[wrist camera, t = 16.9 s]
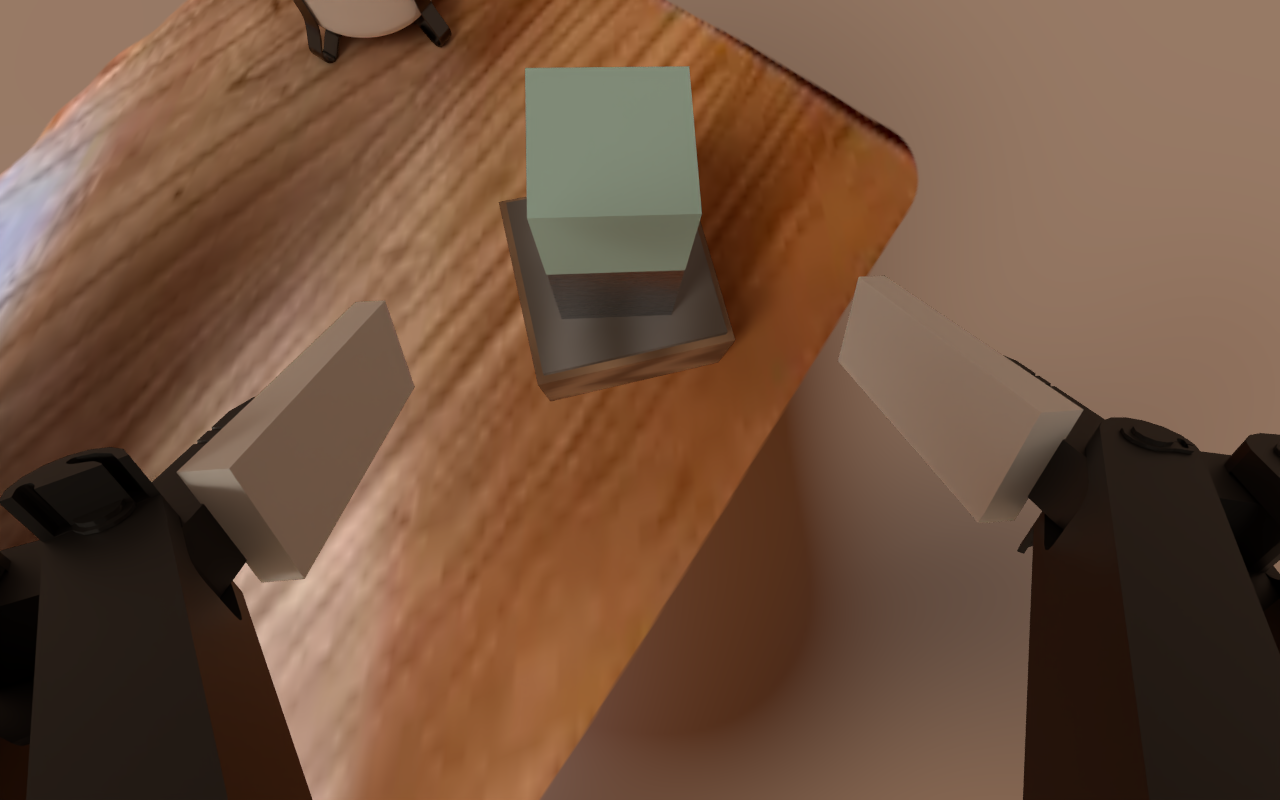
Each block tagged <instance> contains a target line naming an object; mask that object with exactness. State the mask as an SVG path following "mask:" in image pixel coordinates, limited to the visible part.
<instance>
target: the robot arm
mask: <svg viewBox="0 0 1280 800" xmlns="http://www.w3.org/2000/svg"><path fill="white" fill-rule="evenodd" d="M838 362H839V363H840V364H841V365H842V366H843V368H844V369H845V370H846V371H847V372H848V374H849V375H850V376H851V377H852V378H853V379H854V380H855V381H856V383H857V384H858V385H859V386H860V387H861V388H862V390H863V391H864V392H865V393H866V394H867V395H868V397H869V398H870V399H871V400H872V401H873V402H874V403H875V405H876V406H877V407H878V408H879V409H880V410H881V412H882V413H883V414H884V415H885V416H886V417H887V418H888V420H889V421H890V422H891V423H892V424H893V425H894V426H895V428H896V429H897V430H898V431H899V432H900V433H901V435H902V436H903V437H904V438H905V439H906V440H907V441H908V443H909V444H910V445H911V446H912V447H913V448H914V449H915V451H916V452H917V453H918V454H919V455H920V456H921V458H922V459H923V460H924V461H925V462H926V463H927V464H928V466H929V467H930V468H931V469H932V470H933V471H934V473H935V474H936V475H937V476H938V477H939V478H940V479H941V481H942V482H943V483H944V484H945V485H946V486H947V488H948V489H949V490H950V491H951V492H952V493H953V494H954V495H955V497H956V498H957V499H958V500H959V501H960V502H961V504H962V505H963V506H964V507H965V508H966V509H967V511H968V512H969V513H970V514H971V515H972V516H973V517H974V519H975V520H976V521H977V522H978V523H988V522H999V521H1012V520H1015V519H1016V517H1017V516H1018V514H1019V512H1020V511H1021V509H1022V508H1023V506H1024V504H1025V503H1026V501H1027V500H1028V498H1029V499H1030V500H1031V501H1033V502H1034V503H1035V504H1036V505H1037V506H1038V507H1039V508H1040V509H1041V510H1042V513H1041V514H1040V516H1039V517H1038V519H1037V520H1036V522H1035V523H1034V525H1033V526H1032V528H1031V529H1030V531H1029V532H1028V534H1027V535H1026V537H1025V538H1024V540H1023V541H1022V543H1021V544H1020V546H1019V548H1018V550H1017V551H1018V552H1021V553H1025V551H1026V550H1027V548H1028V547H1031V546H1033V562H1032V586H1031V612H1030V638H1029V662H1028V687H1027V689H1028V690H1027V712H1026V713H1027V714H1026V739H1025V763H1024V788H1023V800H1280V574H1279V572H1278V571H1277V570H1276V569H1275V567H1274V566H1273V565H1274V564H1275V563H1277V562H1278V561H1279V560H1280V435H1276V434H1264V433H1260V434H1254V435H1250V436H1248V437H1247V438H1246V440H1245V441H1244V442H1243V443H1242V444H1241V445H1240V446H1239V447H1238V448H1237V450H1236V451H1235V452H1234V453H1233V454H1232V455H1224V454H1216V453H1208V452H1201V451H1199V449H1198V448H1197V447H1196V446H1195V444H1193V443H1192V442H1190V441H1189V440H1188V439H1186V438H1184V437H1183V436H1181V435H1180V434H1177V433H1175V432H1173V431H1171V430H1169V429H1167V428H1164V427H1162V426H1159V425H1155V424H1152V423H1149V422H1146V421H1142V420H1137V419H1131V418H1109V419H1106V420H1104V419H1103V418H1102V417H1100V416H1099V415H1097V414H1096V413H1094V412H1093V411H1091V410H1089V409H1088V408H1087V407H1085V406H1084V405H1082V404H1081V403H1079V402H1077V401H1076V400H1075V399H1073V398H1072V397H1070V396H1069V395H1067V394H1066V393H1064V392H1063V391H1061V390H1059V389H1058V388H1057V387H1055V386H1050V383H1049V382H1047V381H1046V380H1045V379H1043V378H1041V377H1040V376H1035V373H1034V372H1032V371H1031V370H1030V369H1028V368H1027V367H1025V366H1024V365H1022V364H1020V363H1019V362H1017V361H1016V360H1013V359H1011V358H1008V357H1006V356H1004V355H1001V354H1000V353H999V352H997V351H996V350H994V349H992V348H991V347H990V346H988V345H987V344H985V343H984V342H982V341H981V340H980V339H978V338H977V337H975V336H974V335H972V334H971V333H969V332H968V331H966V330H965V329H963V328H962V327H960V326H959V325H957V324H956V323H954V322H953V321H951V320H950V319H948V318H946V317H945V316H944V315H942V314H941V313H939V312H938V311H936V310H935V309H934V308H932V307H930V306H929V305H928V304H926V303H924V302H923V301H922V300H920V299H919V298H917V297H916V296H914V295H913V294H911V293H910V292H908V291H907V290H905V289H904V288H902V287H901V286H900V285H898V284H897V283H895V282H894V281H892V280H891V279H889V278H888V277H886V276H866V277H859V278H858V282H857V286H856V290H855V294H854V298H853V302H852V307H851V310H850V314H849V319H848V322H847V327H846V331H845V335H844V339H843V343H842V347H841V351H840V355H839V359H838ZM413 389H414V384H413V381H412V378H411V375H410V372H409V369H408V366H407V363H406V360H405V358H404V355H403V352H402V349H401V346H400V343H399V340H398V337H397V334H396V331H395V328H394V325H393V322H392V320H391V317H390V314H389V311H388V308H387V305H386V302H385V301H365V302H355V303H354V304H353V305H352V306H351V307H350V308H349V309H348V310H347V311H346V312H344V313H343V314H342V315H341V316H340V317H339V318H338V319H337V320H336V321H335V322H334V323H333V324H332V325H331V326H330V327H329V328H328V329H327V330H326V331H324V332H323V333H322V334H321V335H320V336H319V337H318V338H317V339H316V340H315V341H314V342H313V343H312V344H311V345H310V346H309V347H308V348H307V349H306V350H304V351H303V352H302V353H301V354H300V355H299V356H298V357H297V358H296V359H295V360H294V361H293V362H292V363H291V364H290V365H289V366H288V367H287V368H285V369H284V370H283V371H282V372H281V373H280V374H279V375H278V376H277V377H276V378H275V379H274V380H273V381H272V382H271V383H270V384H269V385H268V386H267V387H265V388H264V389H263V390H262V391H261V392H260V393H259V394H258V395H257V396H256V397H253V398H251V399H250V400H248V401H246V402H245V403H243V404H241V405H239V406H238V407H236V408H234V409H232V410H231V411H229V412H228V413H227V414H226V415H225V416H224V417H222V418H221V419H220V420H219V421H218V422H217V423H216V424H215V425H214V426H213V427H212V431H207V432H206V433H205V434H204V435H203V436H202V437H201V438H200V439H199V440H198V441H197V442H198V443H197V444H193V445H192V446H191V447H190V448H189V449H188V450H187V451H186V452H184V453H183V454H182V455H181V456H180V457H179V458H178V459H177V460H176V461H175V462H174V463H173V464H171V465H170V466H169V467H168V468H167V469H166V470H165V471H164V472H163V473H162V474H161V475H159V476H158V477H157V478H156V479H155V480H154V481H153V482H152V483H151V481H150V480H149V479H148V478H147V477H146V475H145V474H144V473H143V472H142V470H141V469H140V468H139V467H138V466H137V464H136V463H135V462H134V461H133V460H132V458H131V457H130V456H129V455H128V454H127V453H126V452H125V450H124V449H119V448H112V447H107V448H99V449H91V450H87V451H83V452H80V453H76V454H73V455H69V456H66V457H63V458H61V459H59V460H56V461H54V462H51V463H49V464H46V465H44V466H42V467H40V468H38V469H36V470H35V471H33V472H31V473H29V474H27V475H25V476H24V477H22V478H20V479H19V480H18V481H17V482H15V483H14V484H13V485H12V486H10V487H9V488H8V489H7V490H5V492H4V493H3V495H2V496H1V498H0V504H1V505H2V506H3V507H4V508H5V509H7V510H8V511H9V512H10V513H11V514H12V515H13V516H14V517H15V518H17V519H18V520H19V521H20V522H21V523H22V524H23V525H24V526H25V527H27V528H28V529H29V530H30V531H31V532H32V533H33V534H34V535H35V536H37V537H38V538H39V539H40V540H39V541H35V542H31V543H28V544H24V545H20V546H16V547H12V548H9V549H5V550H1V551H0V800H312V797H311V794H310V791H309V788H308V785H307V782H306V779H305V776H304V773H303V770H302V767H301V765H300V762H299V759H298V756H297V753H296V750H295V747H294V744H293V741H292V738H291V735H290V732H289V729H288V726H287V723H286V720H285V717H284V714H283V711H282V708H281V705H280V702H279V699H278V696H277V694H276V691H275V688H274V685H273V682H272V679H271V676H270V673H269V670H268V667H267V664H266V661H265V658H264V655H263V652H262V649H261V646H260V643H259V640H258V637H257V634H256V631H255V628H254V626H253V623H252V620H251V617H250V614H249V611H248V608H247V605H246V602H245V599H244V596H243V593H242V591H241V590H240V589H239V588H238V587H237V585H236V584H235V583H234V582H233V579H234V578H235V576H236V575H237V574H238V572H239V571H240V569H241V568H242V567H243V565H244V564H245V562H246V563H247V564H248V566H249V567H250V568H251V569H252V571H253V572H254V573H255V575H256V576H257V577H258V579H259V580H260V581H261V582H274V581H286V580H298V579H305V577H306V576H307V574H308V572H309V570H310V569H311V567H312V565H313V563H314V562H315V560H316V558H317V556H318V555H319V553H320V551H321V549H322V548H323V546H324V544H325V542H326V541H327V539H328V537H329V535H330V534H331V532H332V530H333V528H334V527H335V525H336V523H337V521H338V520H339V518H340V516H341V514H342V513H343V511H344V509H345V507H346V506H347V504H348V502H349V500H350V499H351V497H352V495H353V493H354V492H355V490H356V488H357V486H358V485H359V483H360V481H361V479H362V478H363V476H364V474H365V473H366V471H367V469H368V467H369V466H370V464H371V462H372V460H373V459H374V457H375V455H376V453H377V452H378V450H379V448H380V446H381V445H382V443H383V441H384V439H385V438H386V436H387V434H388V432H389V431H390V429H391V427H392V425H393V424H394V422H395V420H396V418H397V417H398V415H399V413H400V411H401V410H402V408H403V406H404V404H405V403H406V401H407V399H408V397H409V396H410V394H411V392H412V390H413Z"/></svg>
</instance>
